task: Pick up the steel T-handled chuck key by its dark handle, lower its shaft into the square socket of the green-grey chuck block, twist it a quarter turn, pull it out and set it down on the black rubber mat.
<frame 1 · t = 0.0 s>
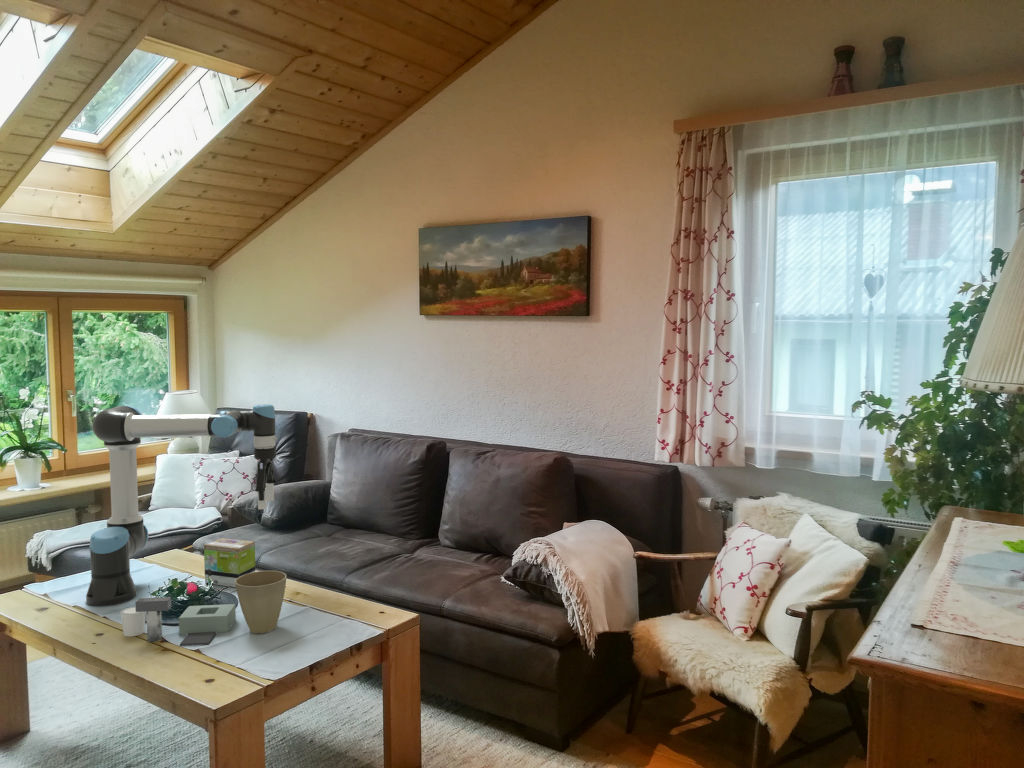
hand: (266, 504, 273), 28 cm above the table, fingers open, 13 cm apart
plant pot: (262, 629, 229), on the table
chuck key: (154, 639, 221), on the table
rubber mat: (198, 639, 221), on the table
chuck block: (208, 626, 231), on the table
white cylinder: (134, 633, 226), on the table
tea box: (230, 582, 273), on the table
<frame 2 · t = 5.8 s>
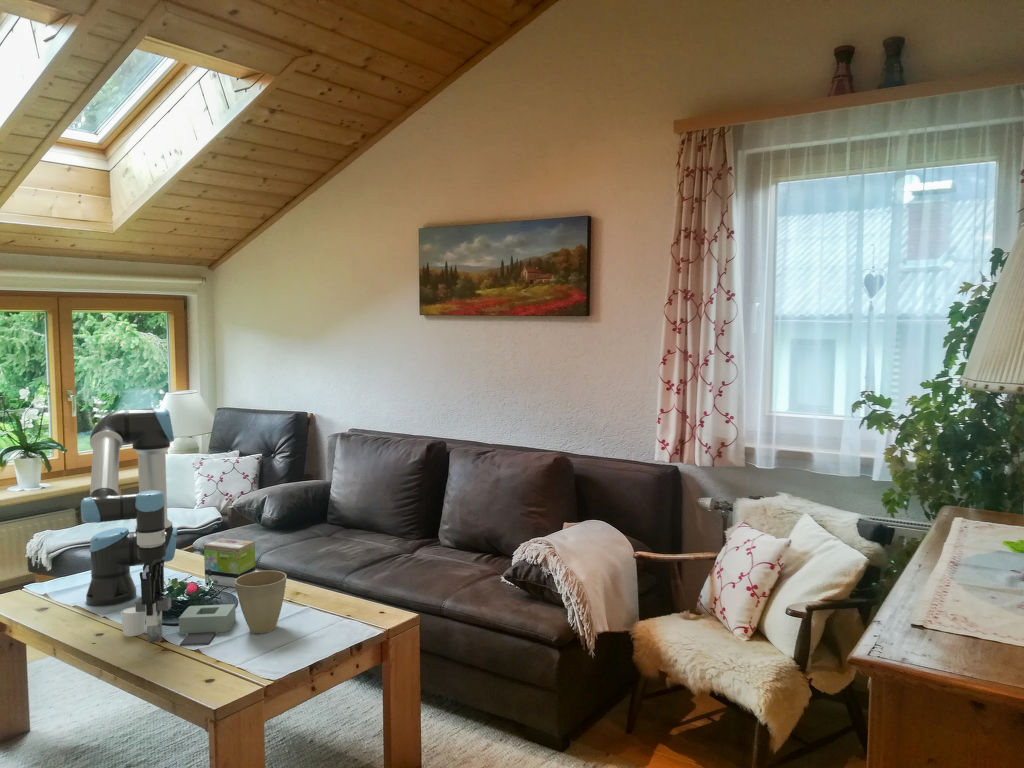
hand: (154, 622, 221), 5 cm above the table, fingers closed on chuck key, 4 cm apart
chuck key: (154, 639, 221), on the table, touching gripper
everything else where it was.
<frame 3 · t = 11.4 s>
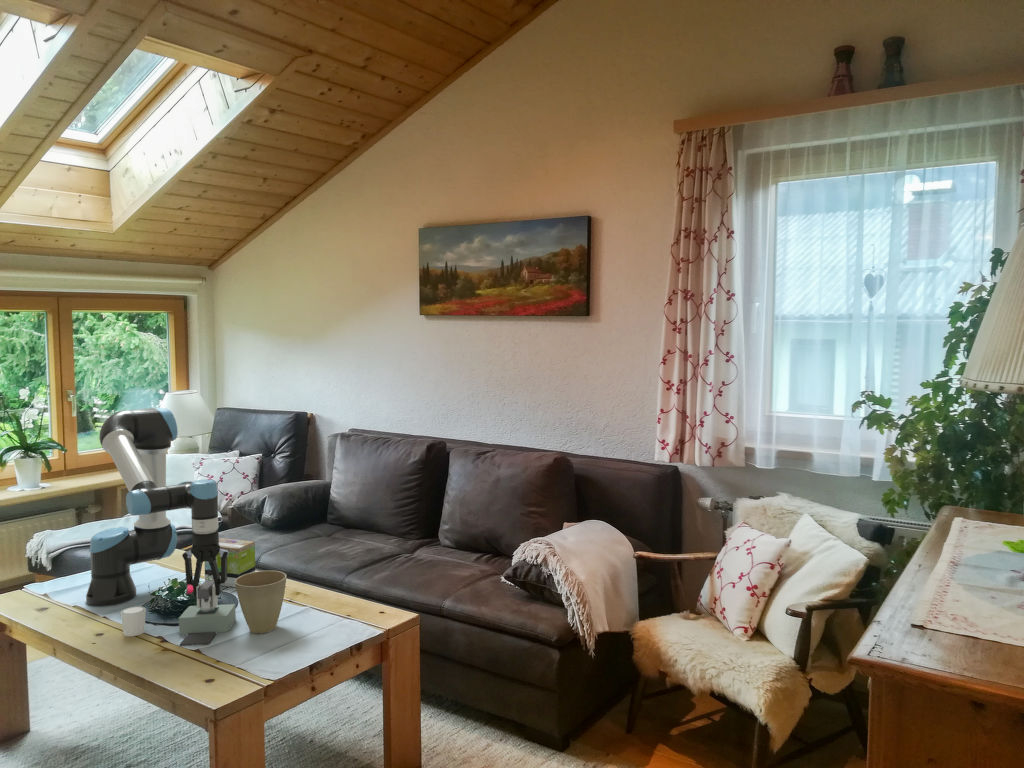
hand: (207, 605, 230), 7 cm above the table, fingers closed on chuck key, 4 cm apart
chuck key: (207, 622, 231), point 1 cm above the table, touching gripper
everything else where it was.
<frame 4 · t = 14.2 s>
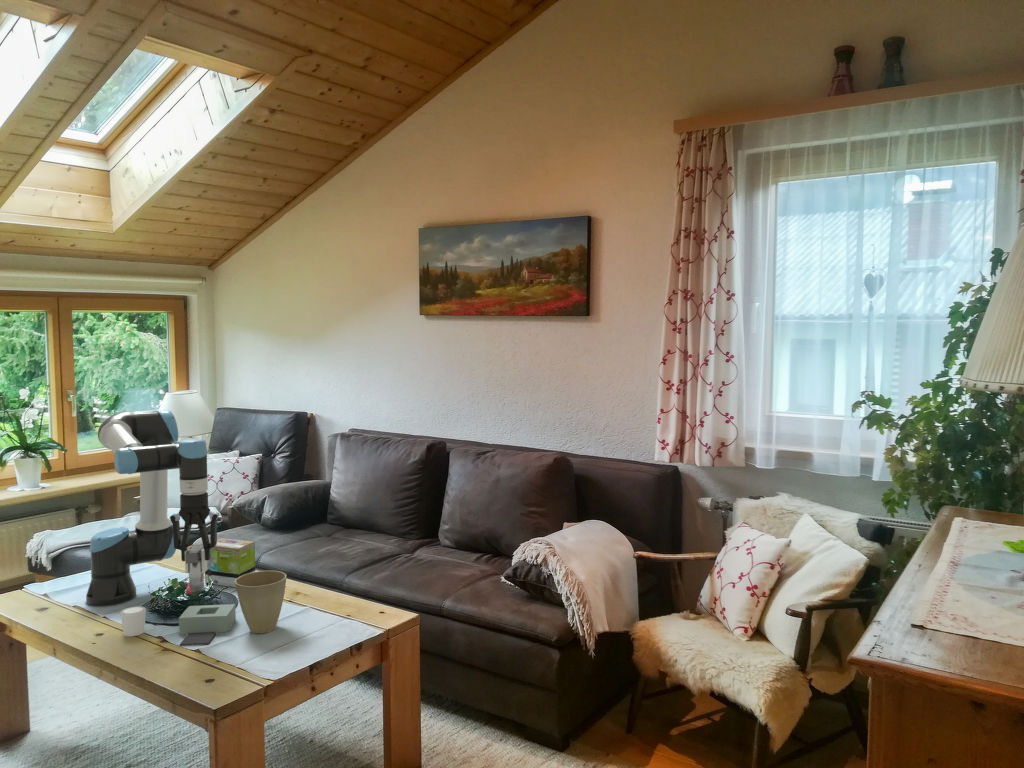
hand: (196, 571, 219), 21 cm above the table, fingers closed on chuck key, 4 cm apart
chuck key: (196, 588, 220), point 15 cm above the table, touching gripper
everything else where it was.
when the fingers open (7 cm above the table, at t = 17.1 s): chuck key drops 1 cm, resting on rubber mat.
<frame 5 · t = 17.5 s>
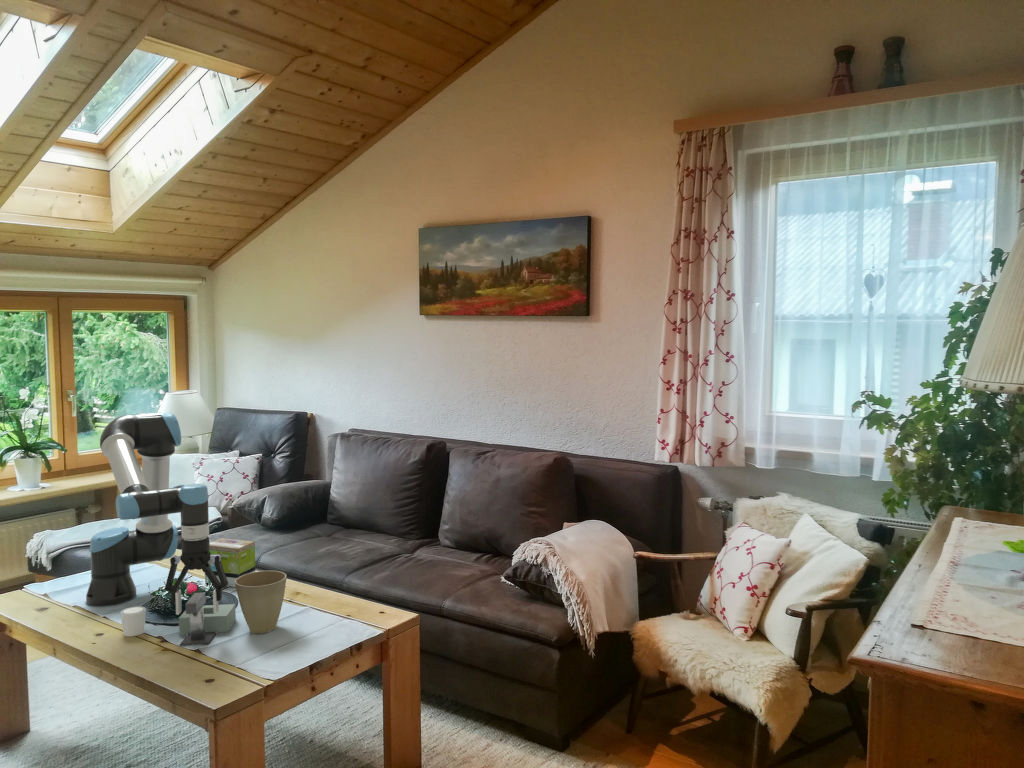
hand: (197, 612, 220), 8 cm above the table, fingers open, 10 cm apart
chuck key: (197, 637, 221), point 1 cm above the table, touching rubber mat
everything else where it was.
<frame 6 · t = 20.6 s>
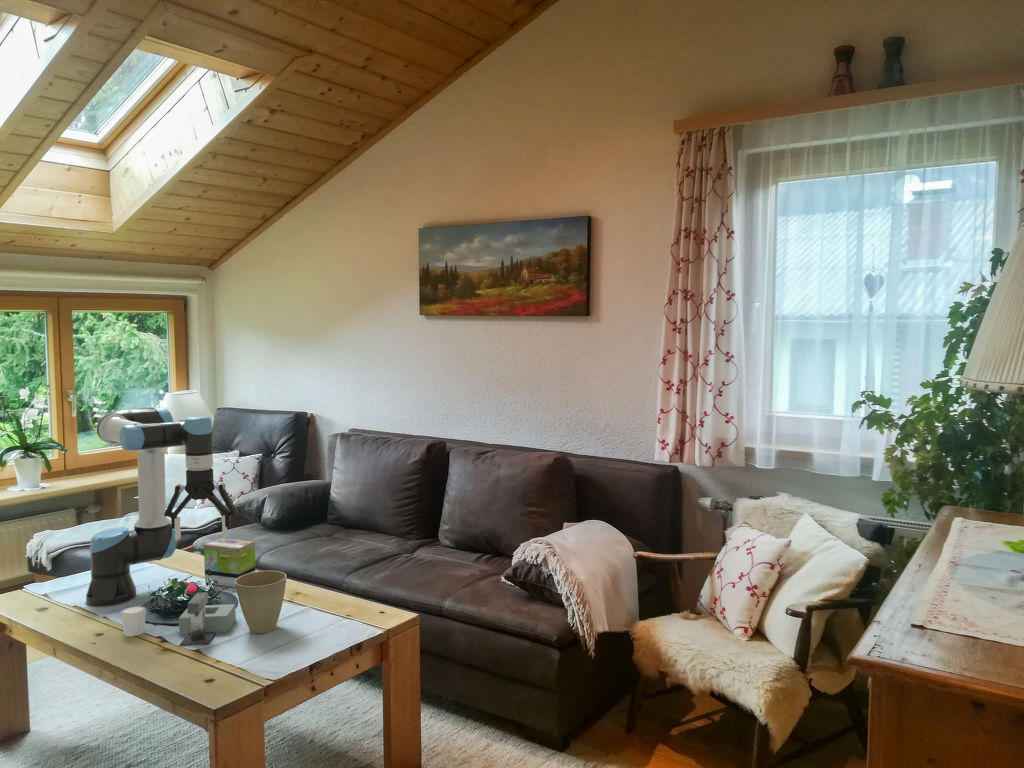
hand: (201, 538, 225), 29 cm above the table, fingers open, 13 cm apart
nothing on the table moved.
at the end: chuck key 0.1 cm from the rubber mat (horizontally); chuck key point 0.7 cm above the table; the gripper is holding nothing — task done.
